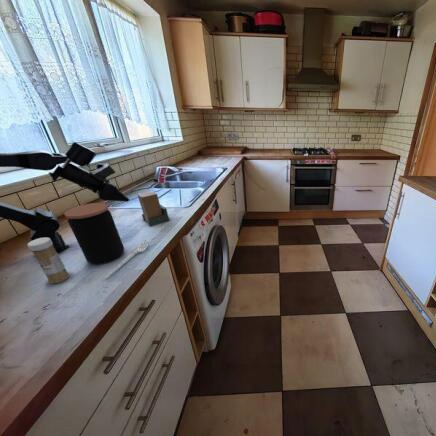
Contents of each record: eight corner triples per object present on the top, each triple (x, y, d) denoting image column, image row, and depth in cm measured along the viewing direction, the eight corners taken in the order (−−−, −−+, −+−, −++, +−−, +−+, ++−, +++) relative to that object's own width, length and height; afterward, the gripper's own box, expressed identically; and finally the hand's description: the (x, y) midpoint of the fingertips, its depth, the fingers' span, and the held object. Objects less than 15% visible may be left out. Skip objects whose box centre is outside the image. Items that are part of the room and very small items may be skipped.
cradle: (150, 226, 99) (146, 213, 97) (143, 220, 105) (139, 208, 102) (169, 220, 104) (166, 208, 102) (161, 214, 110) (158, 203, 107)
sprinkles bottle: (45, 284, 66) (21, 245, 61) (59, 273, 71) (38, 236, 65) (60, 284, 66) (38, 245, 61) (74, 274, 71) (54, 236, 65)
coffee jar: (132, 250, 82) (115, 204, 74) (103, 268, 73) (81, 218, 65) (110, 245, 85) (91, 201, 77) (79, 262, 76) (54, 213, 68)
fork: (101, 279, 68) (98, 274, 68) (143, 243, 86) (142, 239, 85) (111, 279, 68) (109, 274, 67) (152, 244, 86) (150, 239, 85)
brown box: (150, 224, 100) (141, 197, 95) (145, 220, 104) (137, 194, 98) (164, 220, 104) (157, 193, 99) (159, 216, 108) (152, 190, 102)
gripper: (99, 161, 77) (144, 186, 89) (89, 154, 88) (130, 177, 100) (78, 189, 75) (127, 210, 87) (71, 178, 86) (115, 198, 98)
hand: (125, 197), depth 93 cm, fingers open, 9 cm apart
